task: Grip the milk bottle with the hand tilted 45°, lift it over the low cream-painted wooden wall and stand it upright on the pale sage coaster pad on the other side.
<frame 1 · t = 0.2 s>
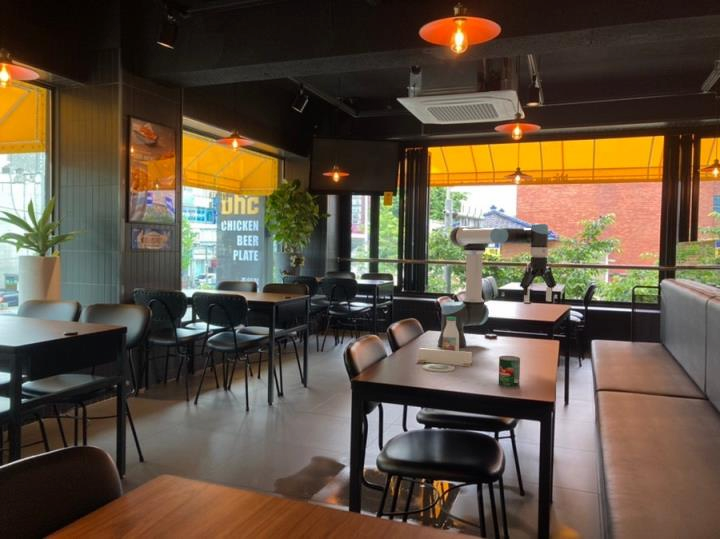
hand: (537, 301, 268), 28 cm above the table, tool pointing down, fingers open, 13 cm apart
canned tomato: (508, 386, 219), on the table
low wall: (444, 363, 260), on the table
milk bottle: (450, 359, 271), on the table
coaster pad: (438, 368, 249), on the table
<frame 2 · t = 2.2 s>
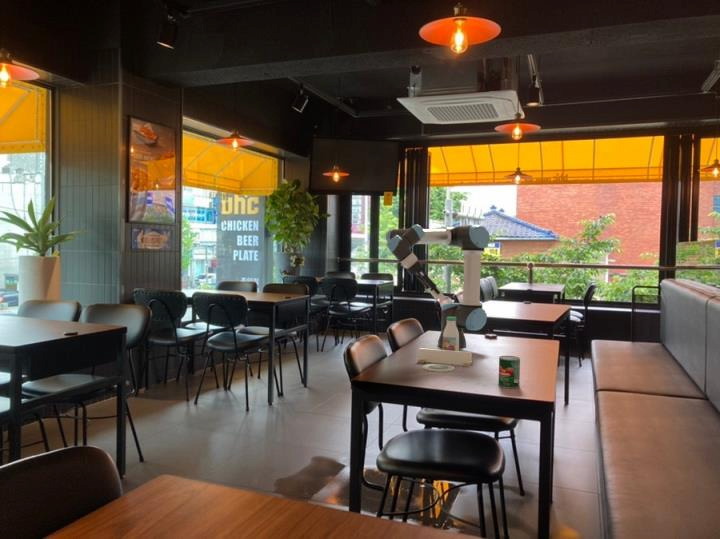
hand: (440, 298, 270), 29 cm above the table, tool tilted 40°, fingers open, 13 cm apart
nothing on the table moved.
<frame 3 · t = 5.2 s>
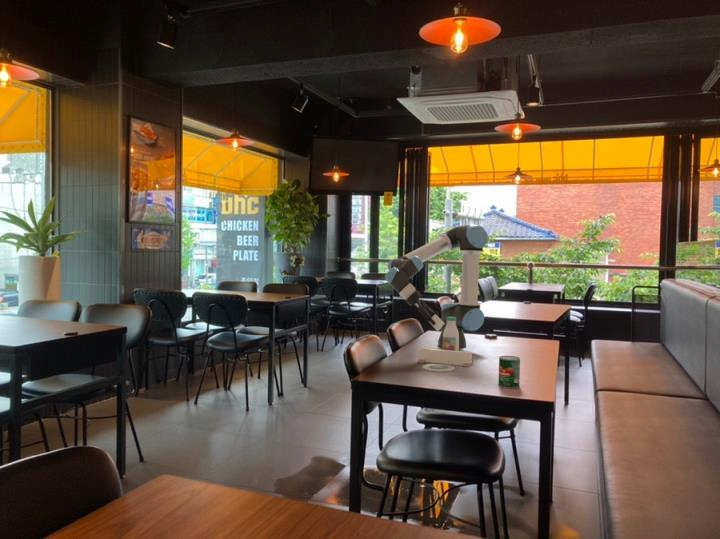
hand: (441, 327, 271), 15 cm above the table, tool tilted 45°, fingers open, 13 cm apart
nothing on the table moved.
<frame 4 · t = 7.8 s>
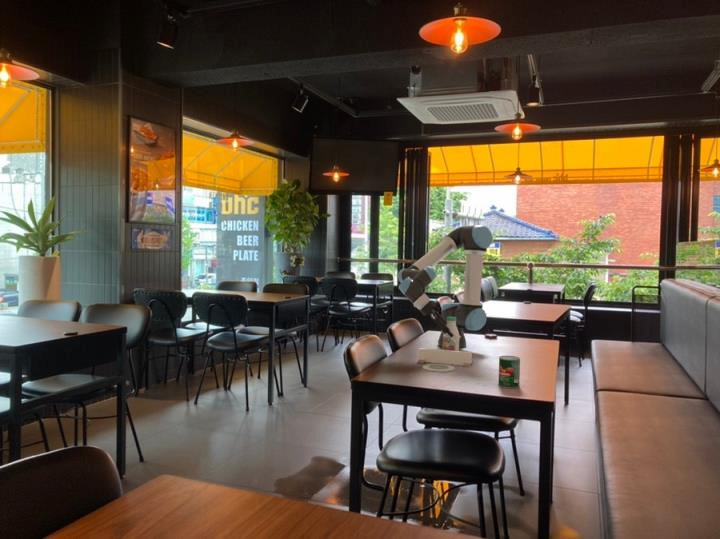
hand: (458, 340, 270), 9 cm above the table, tool tilted 45°, fingers closed on milk bottle, 7 cm apart
milk bottle: (450, 359, 271), on the table, touching gripper
everything else where it was.
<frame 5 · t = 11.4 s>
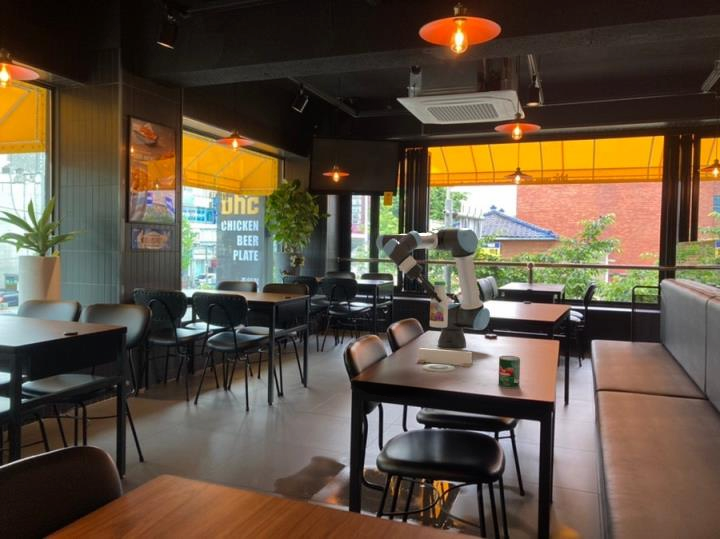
hand: (447, 306, 248), 27 cm above the table, tool tilted 45°, fingers closed on milk bottle, 7 cm apart
milk bottle: (438, 327, 249), point 18 cm above the table, touching gripper
everything else where it was.
when the fingers open (11 cm above the table, at t = 15.3 s): milk bottle drops 1 cm, resting on coaster pad.
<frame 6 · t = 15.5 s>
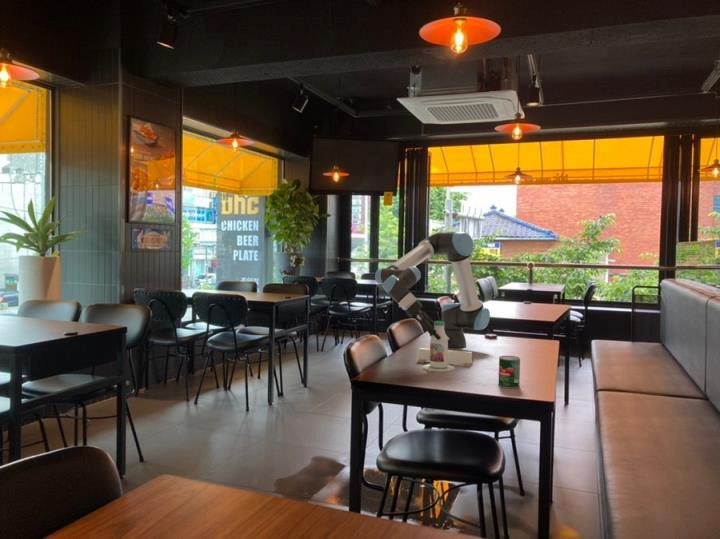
hand: (446, 342, 248), 12 cm above the table, tool tilted 45°, fingers open, 9 cm apart
milk bottle: (438, 367, 249), point 1 cm above the table, touching coaster pad
everything else where it was.
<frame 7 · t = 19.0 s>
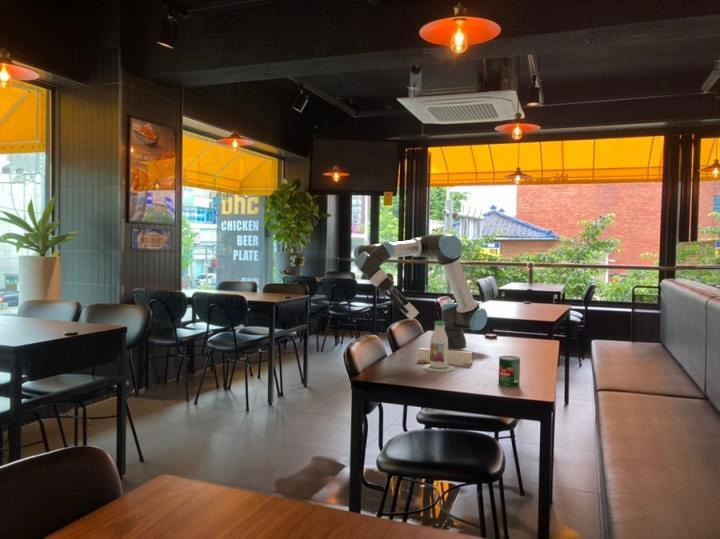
hand: (415, 316, 251), 22 cm above the table, tool tilted 45°, fingers open, 13 cm apart
nothing on the table moved.
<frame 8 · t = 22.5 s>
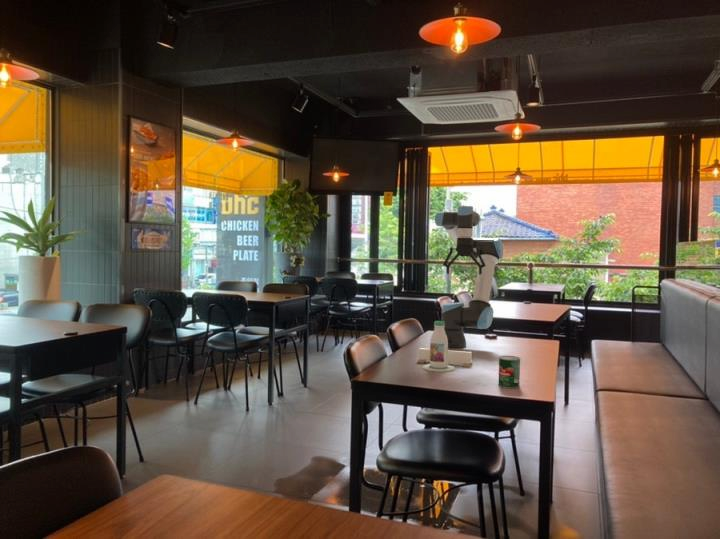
hand: (463, 281, 278), 37 cm above the table, tool pointing down, fingers open, 13 cm apart
nothing on the table moved.
at the end: milk bottle 0.3 cm from the coaster pad (horizontally); milk bottle tilted 0°; the gripper is holding nothing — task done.
